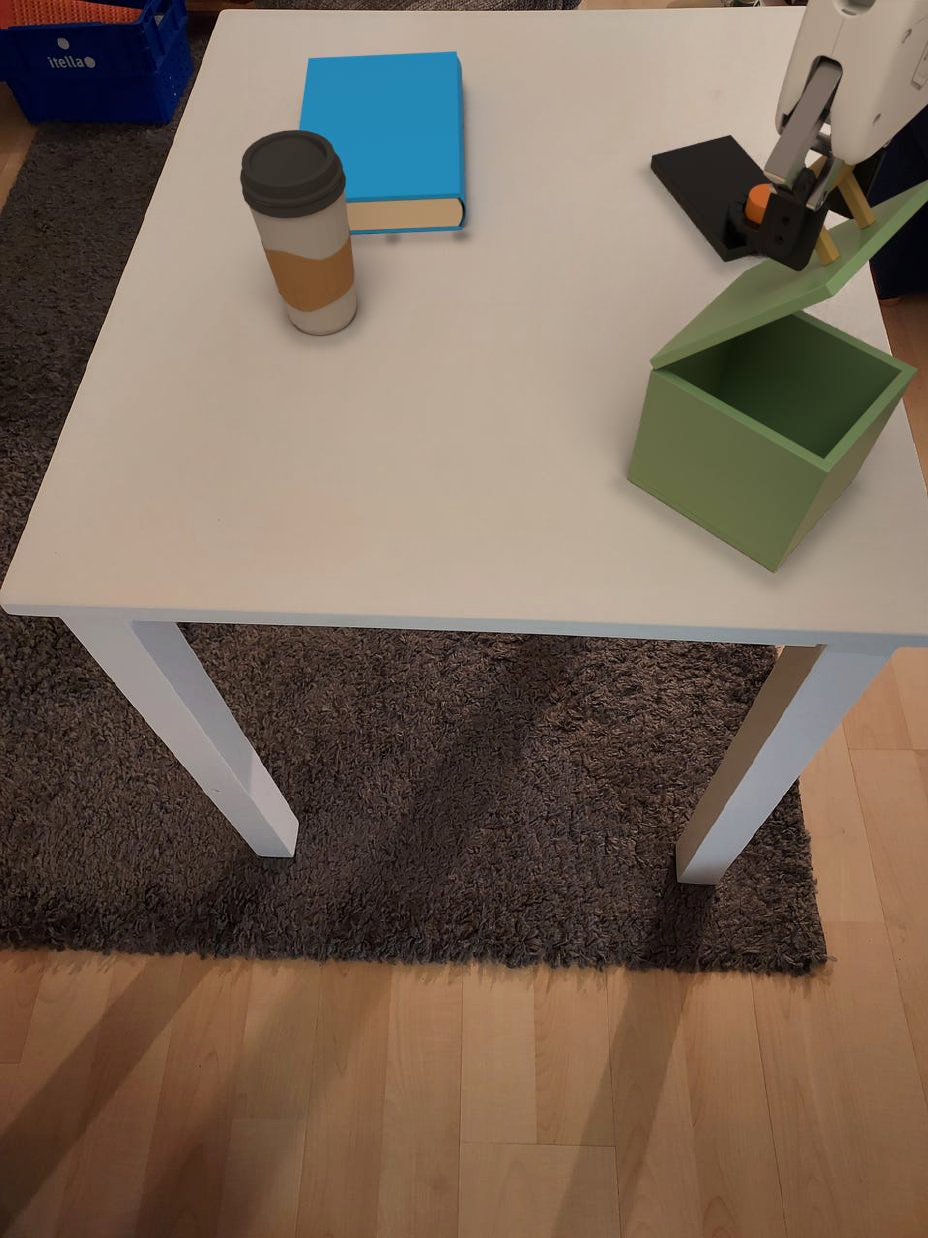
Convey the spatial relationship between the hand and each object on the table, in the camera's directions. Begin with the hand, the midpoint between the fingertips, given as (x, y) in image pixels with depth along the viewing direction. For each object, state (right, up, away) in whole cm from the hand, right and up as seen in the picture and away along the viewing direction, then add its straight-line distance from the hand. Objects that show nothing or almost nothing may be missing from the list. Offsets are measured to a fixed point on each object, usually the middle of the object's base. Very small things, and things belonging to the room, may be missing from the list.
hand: (807, 230), depth 49 cm
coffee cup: (-33, +6, +30) cm, 45 cm away
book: (-28, +27, +41) cm, 56 cm away
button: (+8, +16, +30) cm, 35 cm away
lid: (0, -2, +4) cm, 4 cm away
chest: (+2, -11, +18) cm, 22 cm away
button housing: (+6, +19, +35) cm, 41 cm away
